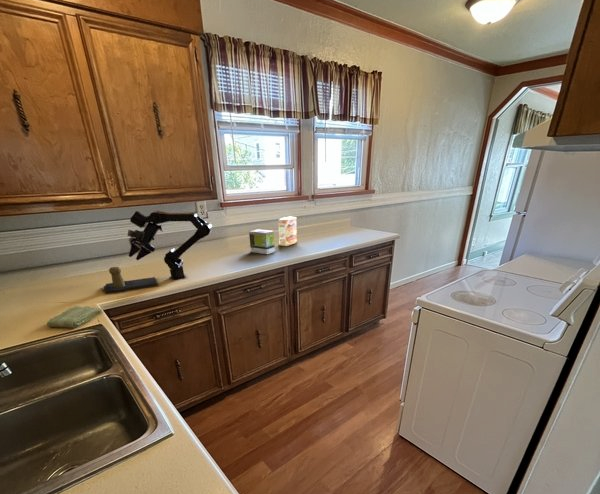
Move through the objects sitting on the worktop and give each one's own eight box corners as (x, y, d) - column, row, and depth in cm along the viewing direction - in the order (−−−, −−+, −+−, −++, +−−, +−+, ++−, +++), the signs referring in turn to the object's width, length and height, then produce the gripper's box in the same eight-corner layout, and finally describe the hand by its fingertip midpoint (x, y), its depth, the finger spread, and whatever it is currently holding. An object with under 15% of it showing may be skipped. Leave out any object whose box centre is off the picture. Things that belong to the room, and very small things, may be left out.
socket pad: (155, 279, 181) (154, 276, 180) (157, 286, 170) (157, 283, 169) (104, 286, 171) (103, 283, 171) (103, 294, 160) (102, 291, 160)
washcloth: (104, 311, 142) (102, 304, 141) (76, 329, 127) (73, 322, 125) (76, 310, 143) (73, 303, 142) (44, 328, 128) (41, 321, 126)
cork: (121, 290, 165) (115, 269, 160) (110, 289, 166) (104, 268, 161) (128, 286, 171) (123, 265, 165) (118, 285, 172) (113, 265, 167)
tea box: (275, 251, 233) (274, 230, 226) (266, 254, 226) (265, 233, 219) (259, 249, 241) (257, 228, 234) (250, 252, 233) (248, 231, 226)
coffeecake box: (286, 246, 248) (285, 219, 239) (278, 245, 252) (277, 218, 243) (297, 242, 260) (296, 216, 250) (289, 241, 263) (289, 216, 254)
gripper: (127, 221, 170) (111, 246, 168) (143, 225, 159) (126, 252, 157) (146, 234, 179) (131, 258, 177) (162, 239, 167) (146, 264, 165)
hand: (133, 258), depth 169 cm, fingers open, 9 cm apart
